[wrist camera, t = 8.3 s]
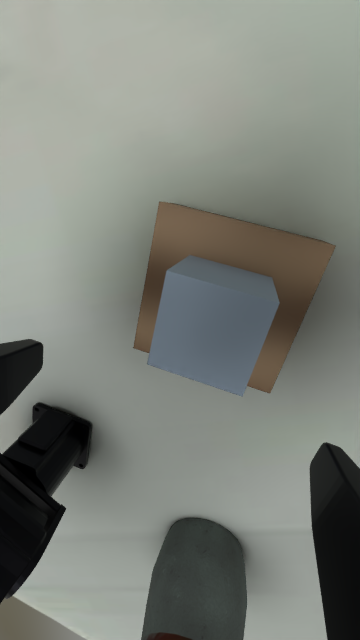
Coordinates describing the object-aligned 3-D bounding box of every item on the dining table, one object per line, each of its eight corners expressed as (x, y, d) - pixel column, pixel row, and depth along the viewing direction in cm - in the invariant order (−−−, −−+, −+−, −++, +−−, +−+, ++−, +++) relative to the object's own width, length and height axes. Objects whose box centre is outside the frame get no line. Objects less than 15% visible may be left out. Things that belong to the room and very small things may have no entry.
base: (267, 370, 21) (269, 393, 19) (147, 331, 23) (133, 348, 20) (322, 240, 17) (335, 245, 15) (172, 203, 19) (159, 201, 16)
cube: (245, 350, 18) (242, 396, 14) (172, 327, 19) (147, 364, 14) (272, 277, 16) (279, 302, 11) (189, 254, 17) (166, 270, 12)
